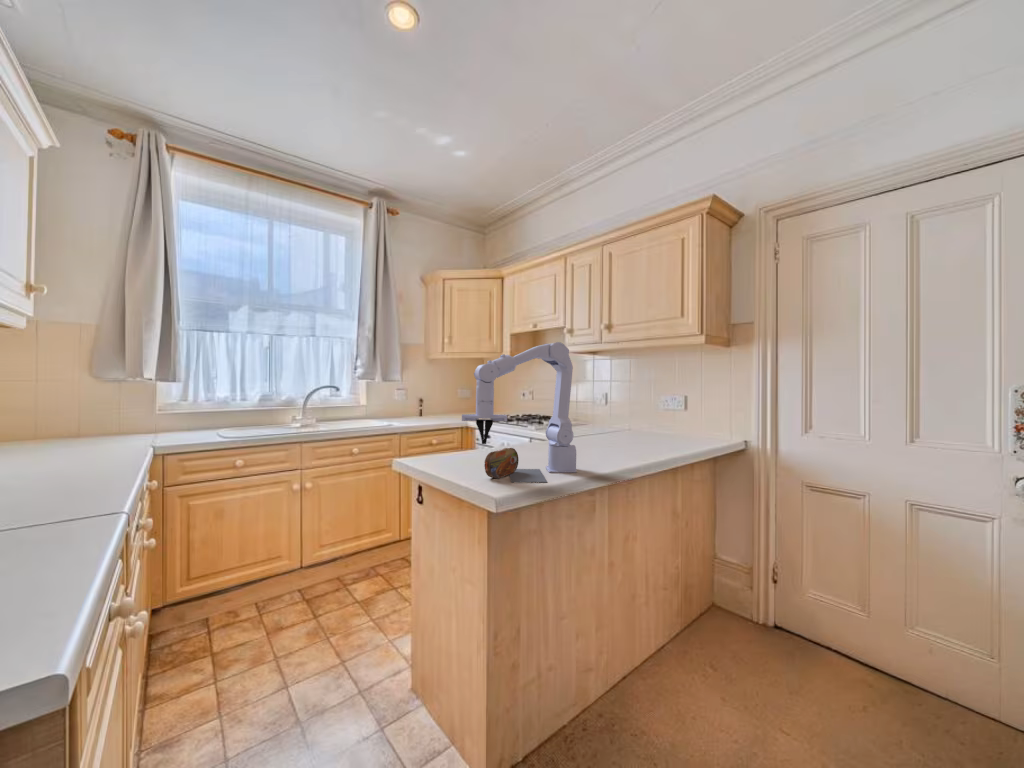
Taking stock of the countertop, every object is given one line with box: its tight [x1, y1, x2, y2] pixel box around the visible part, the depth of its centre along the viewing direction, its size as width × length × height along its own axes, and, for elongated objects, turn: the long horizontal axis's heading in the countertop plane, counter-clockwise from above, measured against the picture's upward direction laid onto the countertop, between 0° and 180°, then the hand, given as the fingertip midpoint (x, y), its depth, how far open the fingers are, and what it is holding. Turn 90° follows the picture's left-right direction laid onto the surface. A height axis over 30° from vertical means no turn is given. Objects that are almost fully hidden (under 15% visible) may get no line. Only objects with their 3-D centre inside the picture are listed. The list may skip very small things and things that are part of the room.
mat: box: [508, 468, 548, 484], centre depth 134 cm, size 11×17×1 cm, turn 4°
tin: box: [484, 447, 519, 479], centre depth 134 cm, size 15×3×8 cm, turn 143°
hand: (484, 443), depth 133 cm, fingers closed
